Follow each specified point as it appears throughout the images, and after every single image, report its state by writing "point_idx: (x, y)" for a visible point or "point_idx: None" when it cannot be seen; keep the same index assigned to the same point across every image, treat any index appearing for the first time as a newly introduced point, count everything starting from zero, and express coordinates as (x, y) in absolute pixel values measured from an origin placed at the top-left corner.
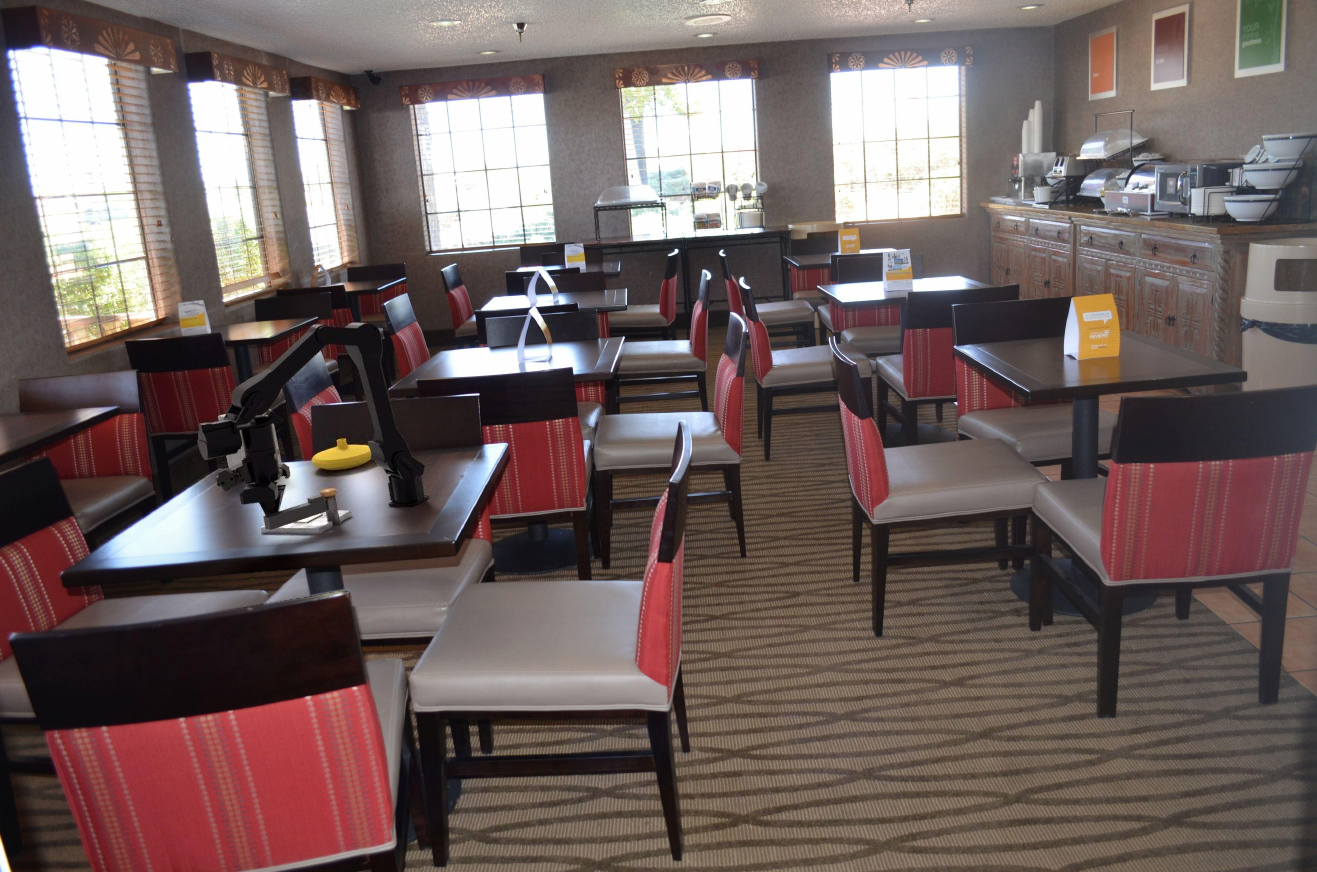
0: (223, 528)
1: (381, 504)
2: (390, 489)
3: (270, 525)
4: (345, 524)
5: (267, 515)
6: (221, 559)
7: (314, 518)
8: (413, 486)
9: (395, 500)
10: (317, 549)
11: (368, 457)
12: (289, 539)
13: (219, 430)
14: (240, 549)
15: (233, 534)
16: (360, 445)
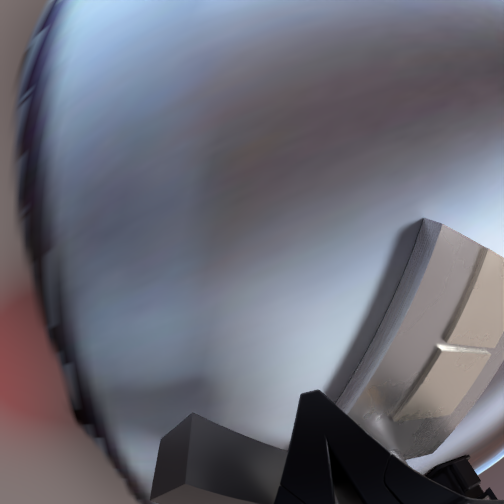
0: (485, 34)
1: (461, 445)
2: (457, 484)
3: (159, 460)
4: None
5: (202, 495)
6: (42, 177)
7: (421, 417)
8: None
9: (438, 477)
10: (148, 474)
11: None
12: (272, 396)
13: None
14: (167, 206)
15: (434, 73)
16: None
